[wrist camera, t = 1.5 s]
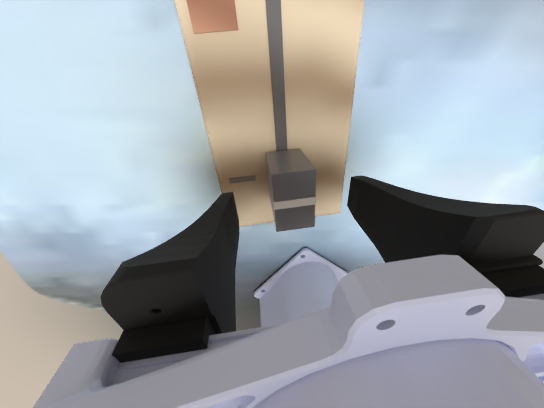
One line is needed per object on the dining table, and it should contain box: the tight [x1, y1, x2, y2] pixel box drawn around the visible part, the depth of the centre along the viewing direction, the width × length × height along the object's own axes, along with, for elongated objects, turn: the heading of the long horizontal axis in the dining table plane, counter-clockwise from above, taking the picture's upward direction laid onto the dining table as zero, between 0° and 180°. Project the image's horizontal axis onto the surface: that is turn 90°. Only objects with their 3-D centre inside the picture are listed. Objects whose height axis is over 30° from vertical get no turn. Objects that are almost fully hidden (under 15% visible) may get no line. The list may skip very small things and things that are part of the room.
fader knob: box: [265, 149, 316, 232], centre depth 14 cm, size 4×2×4 cm, turn 5°
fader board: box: [175, 0, 364, 227], centre depth 13 cm, size 20×10×2 cm, turn 5°
